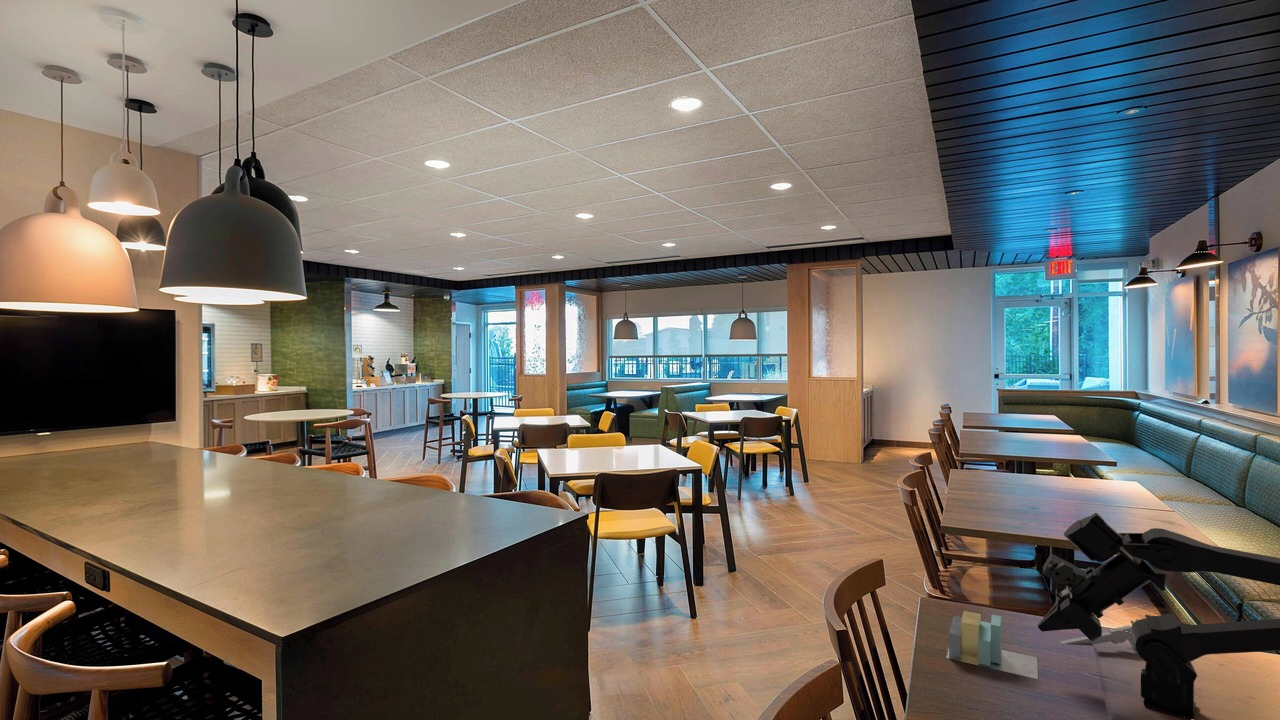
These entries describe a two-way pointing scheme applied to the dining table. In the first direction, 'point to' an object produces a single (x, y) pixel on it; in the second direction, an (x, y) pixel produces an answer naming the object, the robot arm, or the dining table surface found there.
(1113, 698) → the dining table surface
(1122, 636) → the grey long thin bar
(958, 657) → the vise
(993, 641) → the block
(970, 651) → the brass block
